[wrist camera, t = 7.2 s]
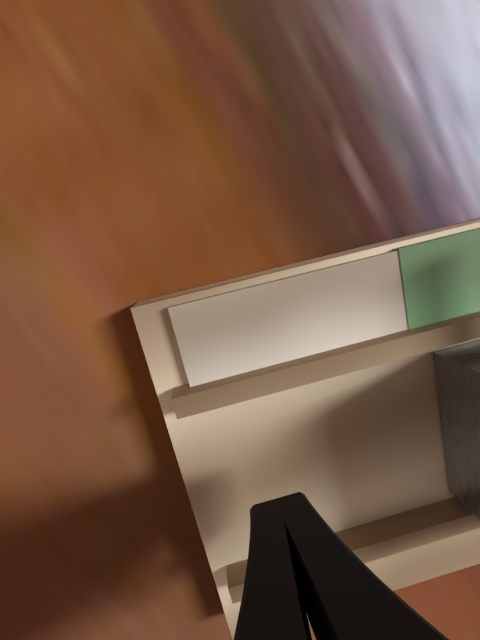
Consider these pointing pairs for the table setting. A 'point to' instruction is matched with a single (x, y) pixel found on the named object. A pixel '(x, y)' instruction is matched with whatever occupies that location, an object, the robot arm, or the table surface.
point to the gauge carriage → (461, 419)
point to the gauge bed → (322, 400)
